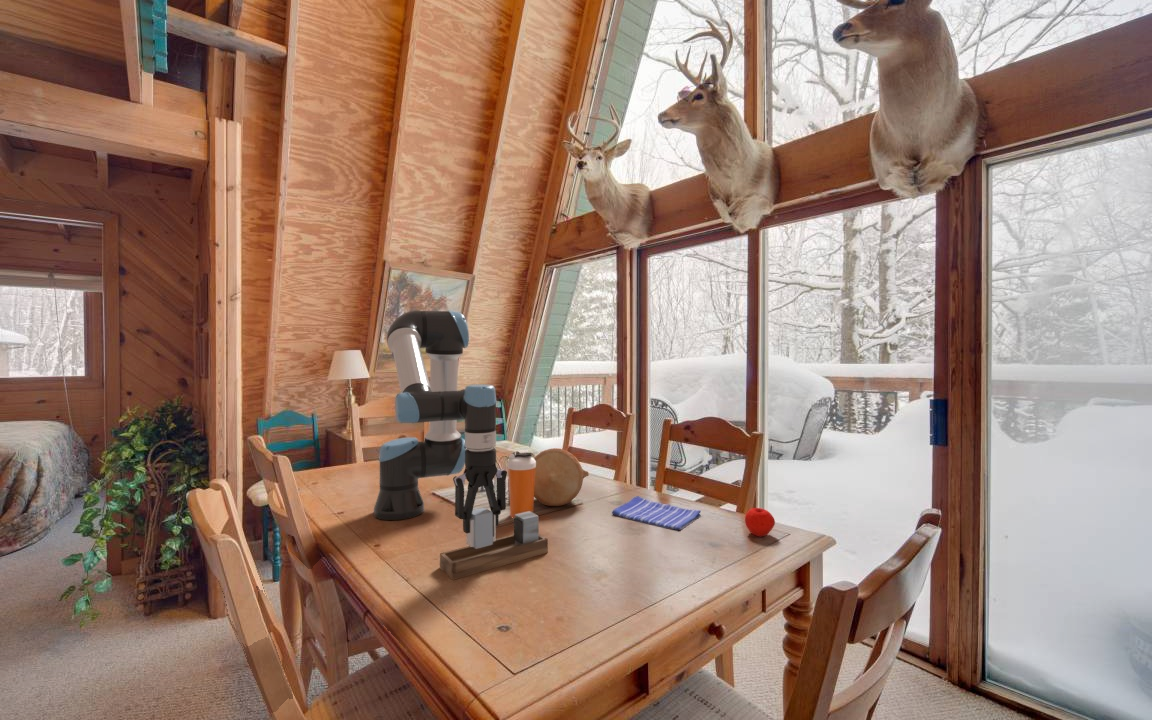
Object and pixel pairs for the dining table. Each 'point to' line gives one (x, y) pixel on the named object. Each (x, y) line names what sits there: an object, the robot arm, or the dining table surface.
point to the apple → (759, 521)
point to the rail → (497, 549)
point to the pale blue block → (483, 527)
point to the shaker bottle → (521, 482)
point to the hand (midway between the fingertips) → (481, 542)
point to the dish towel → (656, 513)
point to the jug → (557, 477)
